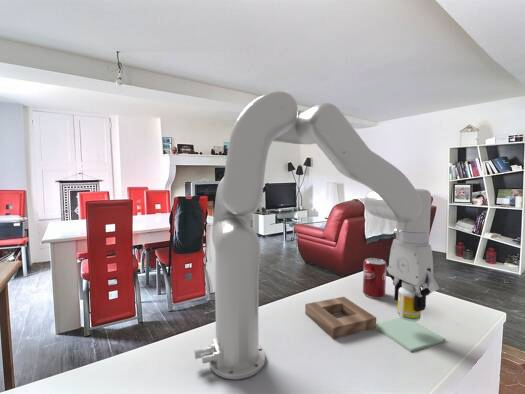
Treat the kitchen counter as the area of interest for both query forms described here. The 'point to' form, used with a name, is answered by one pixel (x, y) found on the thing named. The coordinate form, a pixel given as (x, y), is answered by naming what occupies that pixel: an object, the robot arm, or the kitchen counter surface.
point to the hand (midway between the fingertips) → (409, 304)
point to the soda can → (374, 278)
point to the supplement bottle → (407, 302)
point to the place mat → (409, 334)
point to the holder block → (343, 326)
